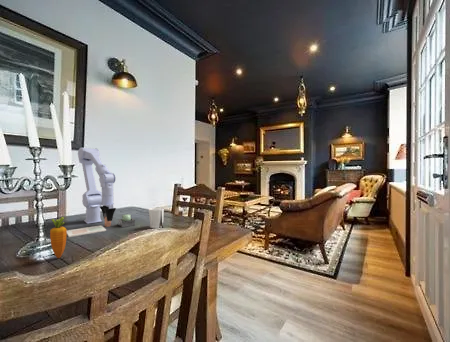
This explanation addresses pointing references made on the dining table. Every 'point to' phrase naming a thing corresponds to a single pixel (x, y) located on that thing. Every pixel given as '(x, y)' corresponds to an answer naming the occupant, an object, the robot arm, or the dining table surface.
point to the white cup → (155, 217)
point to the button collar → (126, 223)
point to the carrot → (58, 237)
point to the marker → (107, 223)
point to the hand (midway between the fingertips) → (107, 219)
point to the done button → (126, 217)
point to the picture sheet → (85, 231)
